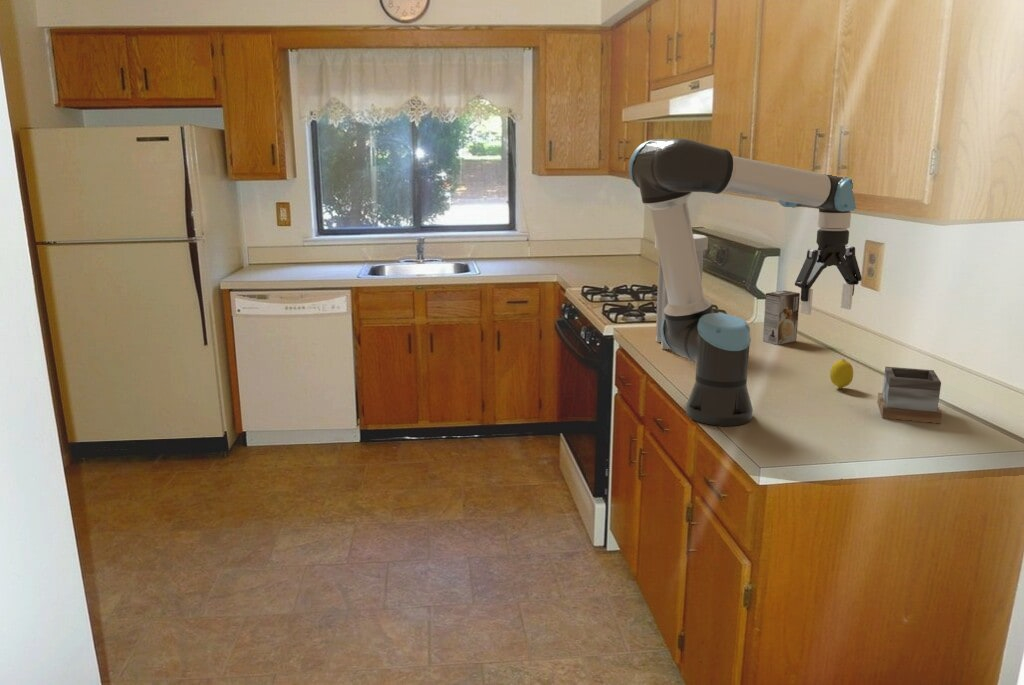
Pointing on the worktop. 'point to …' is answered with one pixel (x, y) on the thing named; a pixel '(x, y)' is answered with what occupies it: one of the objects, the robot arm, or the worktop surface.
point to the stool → (662, 297)
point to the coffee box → (781, 317)
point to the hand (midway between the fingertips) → (826, 311)
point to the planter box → (910, 395)
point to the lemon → (841, 373)
